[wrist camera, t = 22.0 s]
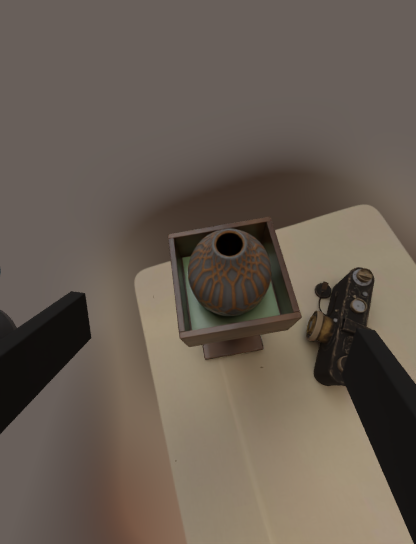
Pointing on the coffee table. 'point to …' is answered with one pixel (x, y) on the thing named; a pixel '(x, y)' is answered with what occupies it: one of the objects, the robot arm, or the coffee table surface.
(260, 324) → the square pedestal box
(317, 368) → the camera
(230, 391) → the coffee table surface
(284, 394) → the coffee table surface
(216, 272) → the vase
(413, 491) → the robot arm
